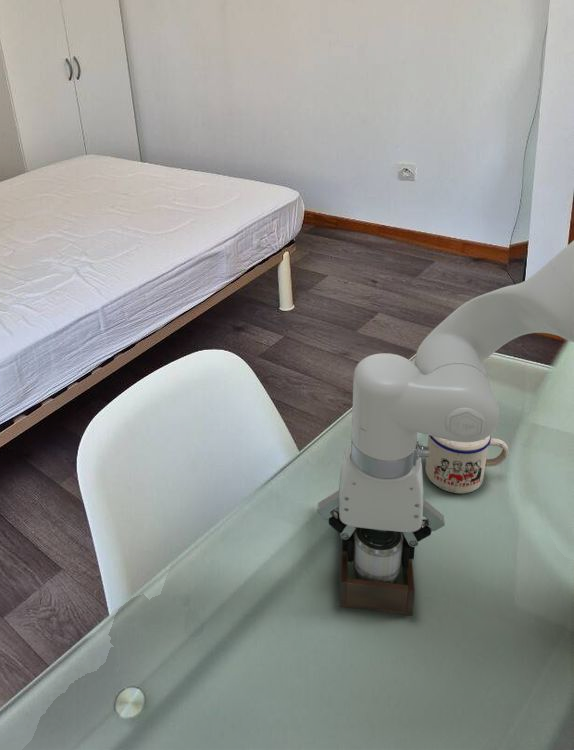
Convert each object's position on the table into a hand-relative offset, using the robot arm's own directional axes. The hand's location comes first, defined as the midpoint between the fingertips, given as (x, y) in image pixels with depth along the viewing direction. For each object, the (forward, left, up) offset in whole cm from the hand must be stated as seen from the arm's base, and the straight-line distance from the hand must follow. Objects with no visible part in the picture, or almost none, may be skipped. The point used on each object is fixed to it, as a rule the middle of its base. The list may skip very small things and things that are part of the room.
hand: (377, 555), depth 90 cm
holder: (0, -4, -5) cm, 6 cm away
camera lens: (0, 0, -3) cm, 3 cm away
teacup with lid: (-14, -22, -5) cm, 26 cm away
